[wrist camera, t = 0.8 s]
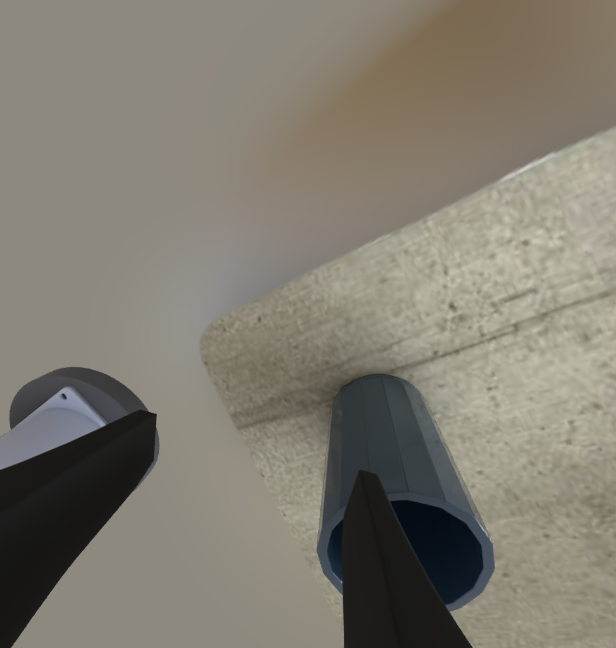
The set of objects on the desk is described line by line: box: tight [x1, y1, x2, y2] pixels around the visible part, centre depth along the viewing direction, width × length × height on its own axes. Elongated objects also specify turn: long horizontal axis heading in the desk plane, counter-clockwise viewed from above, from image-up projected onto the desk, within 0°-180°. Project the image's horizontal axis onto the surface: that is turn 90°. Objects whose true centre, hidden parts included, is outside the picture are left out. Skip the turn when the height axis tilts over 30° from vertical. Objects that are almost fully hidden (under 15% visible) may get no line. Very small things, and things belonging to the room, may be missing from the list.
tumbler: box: [317, 375, 495, 612], centre depth 15 cm, size 6×6×9 cm
